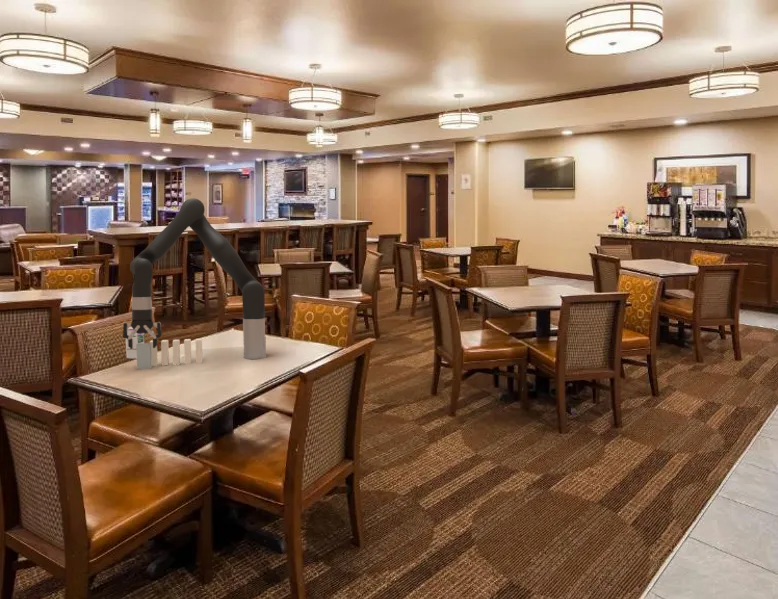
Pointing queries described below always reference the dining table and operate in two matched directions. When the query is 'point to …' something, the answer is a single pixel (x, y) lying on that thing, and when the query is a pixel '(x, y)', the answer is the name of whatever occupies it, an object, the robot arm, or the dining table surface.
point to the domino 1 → (143, 356)
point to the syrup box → (134, 343)
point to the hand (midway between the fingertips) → (142, 348)
